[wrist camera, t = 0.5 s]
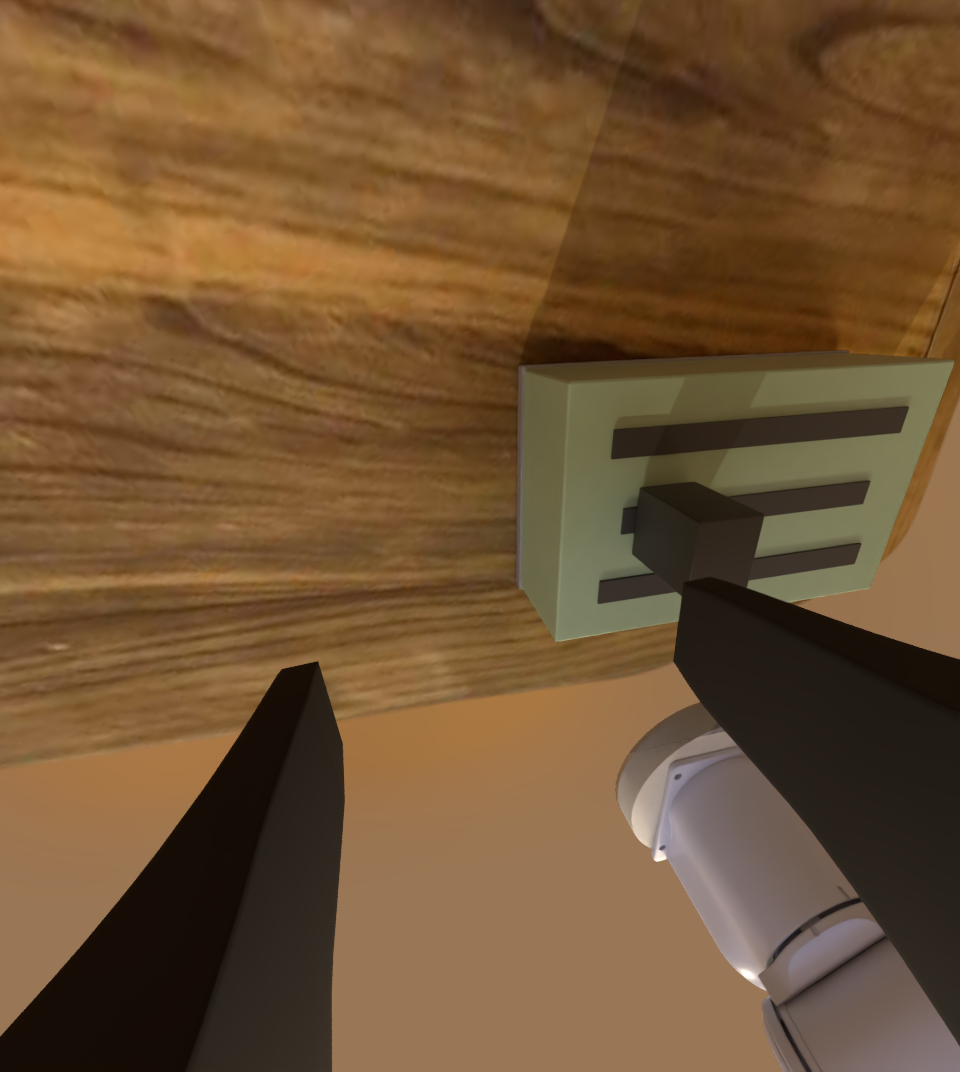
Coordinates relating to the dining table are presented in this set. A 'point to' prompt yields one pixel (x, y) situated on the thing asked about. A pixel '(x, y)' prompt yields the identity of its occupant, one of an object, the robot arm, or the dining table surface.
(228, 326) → the dining table surface
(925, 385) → the green slab
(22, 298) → the dining table surface
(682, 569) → the slider
